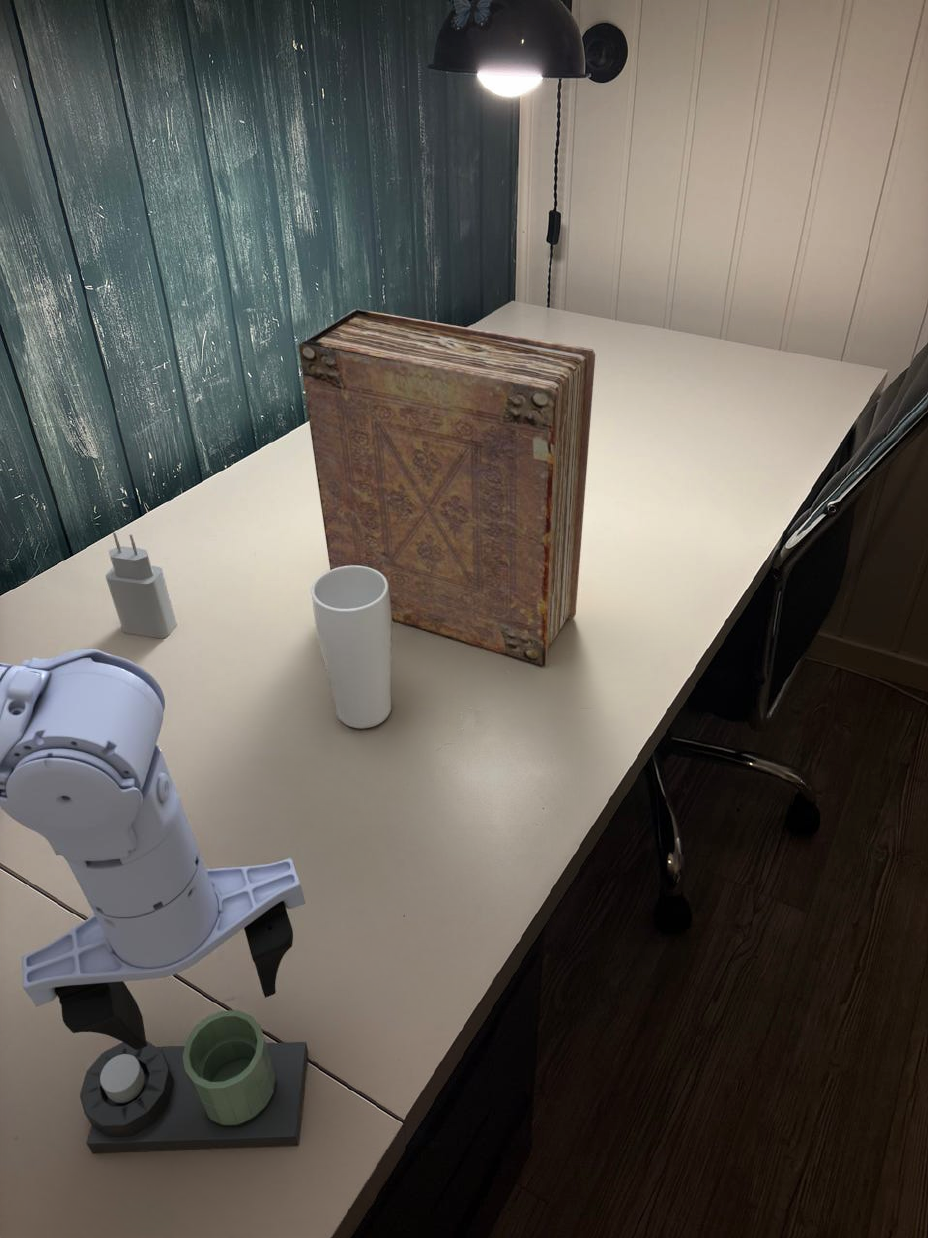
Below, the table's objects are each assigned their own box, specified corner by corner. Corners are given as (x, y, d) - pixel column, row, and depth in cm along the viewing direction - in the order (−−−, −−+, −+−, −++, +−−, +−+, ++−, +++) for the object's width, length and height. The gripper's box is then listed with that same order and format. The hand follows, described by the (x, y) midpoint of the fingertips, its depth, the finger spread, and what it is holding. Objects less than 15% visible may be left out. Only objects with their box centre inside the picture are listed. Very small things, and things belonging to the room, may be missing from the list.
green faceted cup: (208, 1142, 57) (190, 1102, 53) (194, 1070, 60) (176, 1028, 57) (284, 1109, 58) (271, 1068, 55) (266, 1041, 62) (253, 998, 58)
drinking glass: (404, 689, 91) (394, 565, 81) (393, 739, 85) (382, 613, 76) (336, 685, 91) (319, 562, 82) (322, 735, 86) (301, 609, 76)
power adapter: (134, 614, 101) (106, 522, 93) (179, 621, 100) (154, 528, 92) (119, 632, 98) (89, 538, 91) (165, 639, 97) (139, 545, 90)
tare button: (101, 1104, 57) (95, 1093, 56) (112, 1066, 59) (105, 1054, 58) (140, 1103, 57) (134, 1092, 56) (149, 1064, 59) (143, 1053, 58)
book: (577, 617, 99) (598, 349, 80) (544, 669, 93) (558, 391, 74) (376, 559, 108) (352, 307, 89) (333, 602, 102) (298, 340, 83)
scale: (81, 1154, 58) (68, 1133, 56) (107, 1058, 62) (96, 1036, 60) (298, 1146, 58) (292, 1125, 56) (308, 1051, 62) (303, 1029, 61)
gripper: (264, 768, 51) (303, 909, 60) (-12, 860, 47) (73, 997, 56) (296, 863, 46) (334, 1002, 55) (-10, 976, 42) (83, 1107, 51)
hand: (204, 1007), depth 55 cm, fingers open, 7 cm apart
